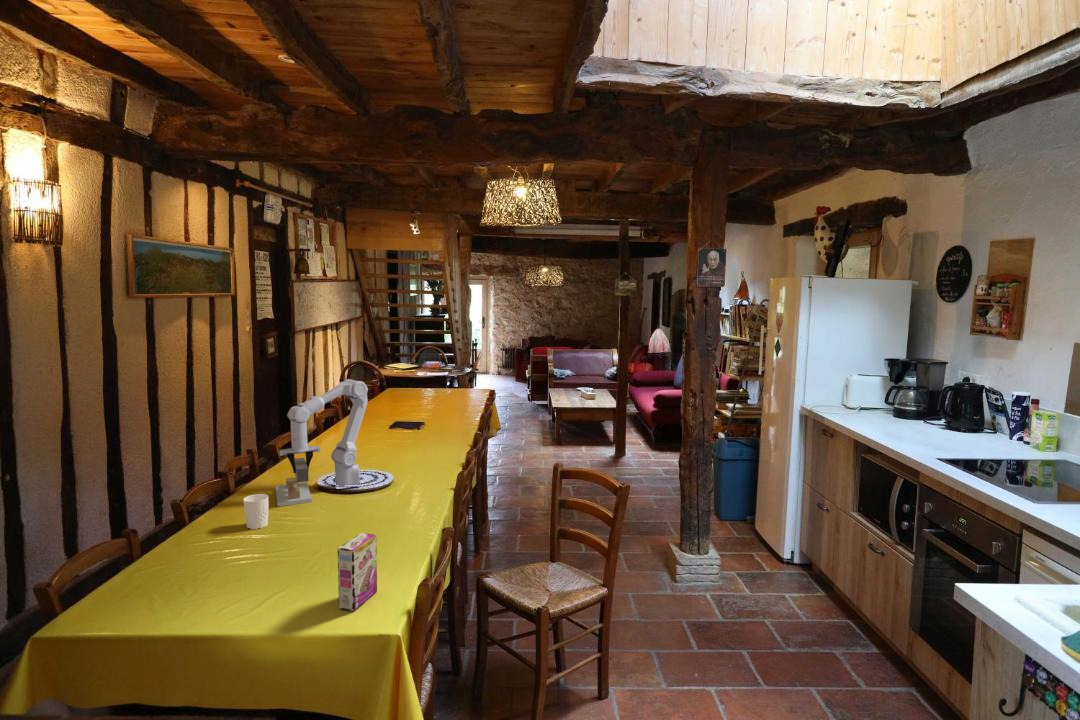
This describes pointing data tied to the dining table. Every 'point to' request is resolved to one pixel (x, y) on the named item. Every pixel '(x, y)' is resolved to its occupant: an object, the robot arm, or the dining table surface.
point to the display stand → (293, 493)
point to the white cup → (256, 510)
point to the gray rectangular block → (301, 470)
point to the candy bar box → (357, 571)
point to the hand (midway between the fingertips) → (300, 471)
